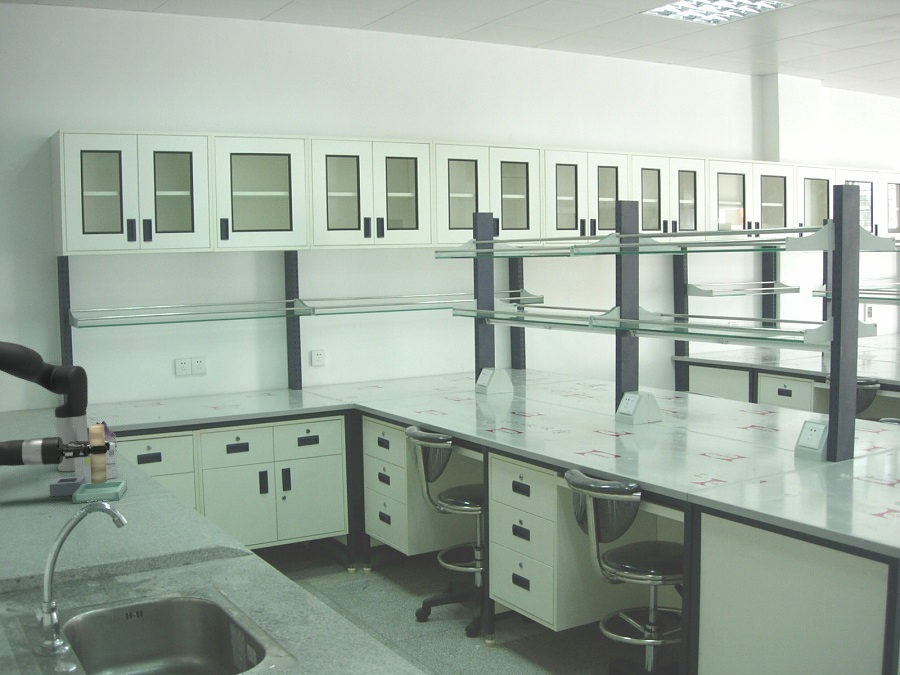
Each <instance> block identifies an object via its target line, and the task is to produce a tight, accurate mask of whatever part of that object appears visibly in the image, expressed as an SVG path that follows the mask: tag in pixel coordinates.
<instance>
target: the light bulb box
mask: <svg viewBox="0 0 900 675" xmlns="http://www.w3.org/2000/svg"><path fill="white" fill-rule="evenodd" d="M105 442H108V441H105ZM109 443H110V449H109V450H107V453H105V456H106V477H107V480H111V479H116V478H118V466H117V447H116V448H115V443H112V442H109ZM87 446H90V445H87ZM74 461H75V471H74V473H75V477H81V476H85V481H86V483H91V463H90V456H87V457H78V458H74Z"/></svg>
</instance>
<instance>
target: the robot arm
mask: <svg viewBox="0 0 900 675" xmlns="http://www.w3.org/2000/svg"><path fill="white" fill-rule="evenodd" d="M0 372H4V373H6V374H8V375H9V376H12V377H15V378H18V379H20V380H24V381H27V382H31V383H34V384H36V385H38V386H40V387H42V388H44V389H45V390H47V391H48V392H51V393H53V394H55V395H67V397H66V399H67V400H66V401H65V403H64V404H62V405H59V406H57V407H56V408H54V417H55V418H54V420H55V433H56V435H55V436H53V437H52V436H51V437H33V438H28V439H14V440H13V439H12V440H7V441H5V440H4V441H0V466H1V467H4V466H7V467H8V466H9V467H10V466H11V467H12V466H13V467H17V466H49V465H50V466H51V465H57V467H58V471H59V472H75V461H74V458H78V457H87V456H90V455H92V453H93V454H105V453H107V450H109V449H110V443H109V442H105V445H101V446H87V445H90V442H89V441H88V433H87V428H88V422H87V420H88V419H87V408H88V404H89V402H88V398H89V397H88V396H89V395H88V394H89V392H88V388H89V387H88V385H89V384H88V382H89V381H88V374H87V372H86V370H85V368H84V367H82V366H80V365H56V364H51V363H47V362H45V361H44V359H43V356H42V355H41V354H40V353H39V352H37V350H34V349H32V348H30V347H27V346H25V345H22V344H19V343H15V342H9V341H8V342H7V341H1V340H0Z"/></svg>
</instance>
